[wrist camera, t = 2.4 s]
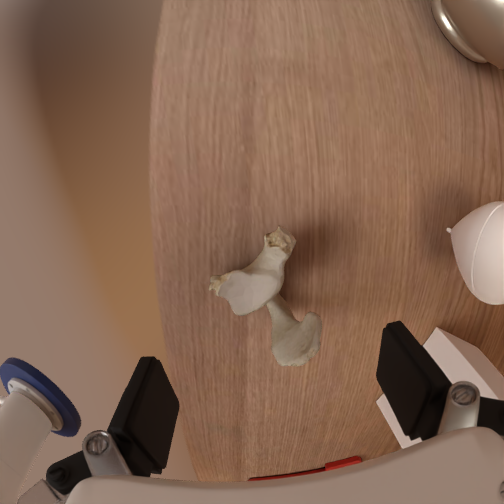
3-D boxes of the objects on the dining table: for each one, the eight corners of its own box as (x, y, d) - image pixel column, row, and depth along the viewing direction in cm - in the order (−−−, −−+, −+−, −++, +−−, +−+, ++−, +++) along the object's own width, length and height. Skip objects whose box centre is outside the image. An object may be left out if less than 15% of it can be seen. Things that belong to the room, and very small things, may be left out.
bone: (192, 217, 18) (289, 275, 10) (269, 206, 21) (379, 245, 14) (200, 322, 21) (274, 409, 14) (266, 301, 25) (350, 363, 17)
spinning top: (420, 185, 19) (533, 214, 8) (474, 191, 19) (569, 219, 8) (411, 271, 22) (499, 343, 10) (465, 265, 22) (545, 318, 10)
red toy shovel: (249, 483, 33) (249, 489, 32) (245, 474, 32) (245, 481, 30) (358, 464, 33) (360, 470, 31) (362, 453, 31) (364, 460, 30)
